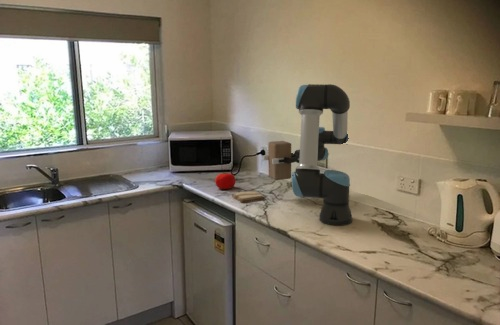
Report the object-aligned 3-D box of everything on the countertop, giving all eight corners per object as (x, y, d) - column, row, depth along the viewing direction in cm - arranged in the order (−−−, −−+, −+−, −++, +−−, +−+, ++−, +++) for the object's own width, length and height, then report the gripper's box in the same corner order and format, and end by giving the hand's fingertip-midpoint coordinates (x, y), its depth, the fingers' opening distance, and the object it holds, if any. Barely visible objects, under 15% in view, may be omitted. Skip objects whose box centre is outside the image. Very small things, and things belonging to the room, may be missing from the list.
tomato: (238, 189, 237) (237, 173, 235) (218, 191, 233) (217, 175, 231) (232, 185, 248) (231, 169, 246) (212, 187, 243) (212, 171, 241)
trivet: (264, 199, 216) (264, 196, 216) (241, 203, 211) (241, 199, 210) (253, 193, 229) (253, 189, 228) (232, 196, 223) (231, 193, 223)
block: (275, 180, 209) (275, 144, 205) (267, 176, 218) (267, 141, 214) (291, 178, 212) (292, 142, 208) (284, 175, 221) (284, 140, 217)
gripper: (314, 166, 210) (278, 170, 201) (292, 158, 230) (258, 162, 221) (314, 152, 208) (278, 156, 199) (292, 146, 228) (258, 149, 219)
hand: (268, 159), depth 210 cm, fingers closed on block, 10 cm apart
